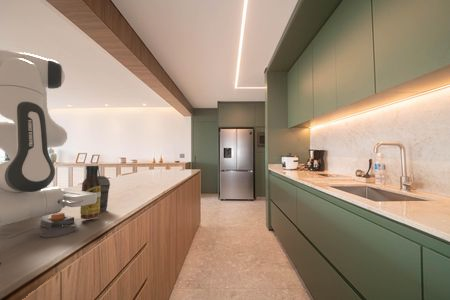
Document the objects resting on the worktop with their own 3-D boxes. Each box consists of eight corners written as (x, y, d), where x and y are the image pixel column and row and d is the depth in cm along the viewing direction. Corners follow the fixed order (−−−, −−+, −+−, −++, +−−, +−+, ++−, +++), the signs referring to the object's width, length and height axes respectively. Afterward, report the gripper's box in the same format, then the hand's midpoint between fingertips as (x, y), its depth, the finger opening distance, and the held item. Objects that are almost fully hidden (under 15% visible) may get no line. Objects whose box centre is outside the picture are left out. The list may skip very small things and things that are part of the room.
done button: (48, 220, 73) (48, 215, 73) (60, 217, 77) (61, 212, 77) (54, 222, 72) (54, 216, 72) (66, 219, 75) (66, 213, 75)
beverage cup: (103, 214, 86) (104, 166, 87) (86, 213, 86) (87, 166, 87) (113, 209, 94) (113, 165, 94) (97, 209, 94) (97, 165, 94)
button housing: (40, 225, 72) (40, 219, 72) (63, 219, 79) (63, 214, 79) (51, 228, 69) (51, 222, 69) (74, 222, 76) (74, 217, 76)
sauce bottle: (90, 220, 75) (91, 166, 75) (75, 219, 76) (77, 165, 77) (104, 215, 81) (105, 165, 82) (90, 214, 83) (91, 164, 83)
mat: (34, 234, 64) (34, 232, 64) (66, 225, 73) (66, 223, 73) (49, 239, 61) (49, 237, 61) (81, 229, 69) (81, 227, 69)
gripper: (69, 193, 63) (111, 187, 75) (35, 188, 72) (77, 183, 84) (68, 214, 63) (110, 204, 75) (34, 206, 72) (77, 198, 84)
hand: (93, 193), depth 80 cm, fingers closed on sauce bottle, 6 cm apart
